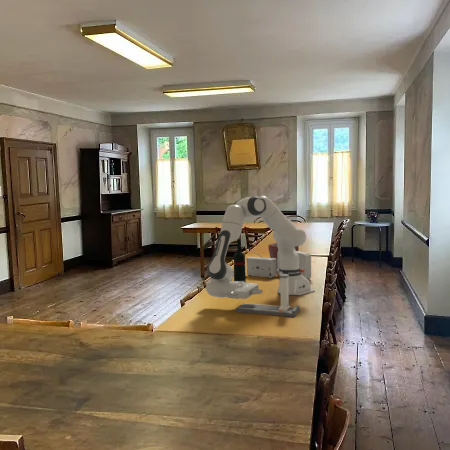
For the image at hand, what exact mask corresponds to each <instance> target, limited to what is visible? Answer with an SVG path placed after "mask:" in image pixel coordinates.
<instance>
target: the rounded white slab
mask: <svg viewBox="0 0 450 450" xmlns="http://www.w3.org/2000/svg"><path fill="white" fill-rule="evenodd" d="M296 252H297V254H298V256H299V269H304V271H305V272H304V273H303V272H301V275H303V276H304V277H305V278H306V279H308V280H311V278H312V255H311V253H309V252H306V251H305V252H304V251H299V250H298V251H296ZM277 267H278V270H277V274H278V275H279V268H280V255H279V250H278V253H277Z"/></svg>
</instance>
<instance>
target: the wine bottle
mask: <svg viewBox="0 0 450 450" xmlns="http://www.w3.org/2000/svg"><path fill="white" fill-rule="evenodd" d="M241 238H242V237H241V236H240V237H239V238H238V239H237V240H236V241H237V252H235V253H234V254H233V271H234V274H233V281H244V282H247V281H246V280H247V279H246V275H247V274H246V255H245V253H244V252H242V243H241V242H242V239H241Z"/></svg>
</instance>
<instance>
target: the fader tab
mask: <svg viewBox="0 0 450 450" xmlns="http://www.w3.org/2000/svg"><path fill="white" fill-rule="evenodd" d="M288 277H289V274H281V275H280V277H279V280H280V281H281V294H280V306H281V307H280V308H279V309H280V310H282V311H288V310H289V309H290V307H291V305H290V304H289V303H290V302H289V299H290V298H289V297H290V296H289V281H288Z"/></svg>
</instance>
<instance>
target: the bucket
mask: <svg viewBox="0 0 450 450" xmlns="http://www.w3.org/2000/svg"><path fill="white" fill-rule="evenodd" d="M294 247H295V250H296V251H299V249H300V248H299V247H300V246H294ZM268 253H269V258H276V260H277V253H278V247H277V243H276V242H275V243H274V242H273V243H270V244H268ZM277 269H278V267H277Z"/></svg>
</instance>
